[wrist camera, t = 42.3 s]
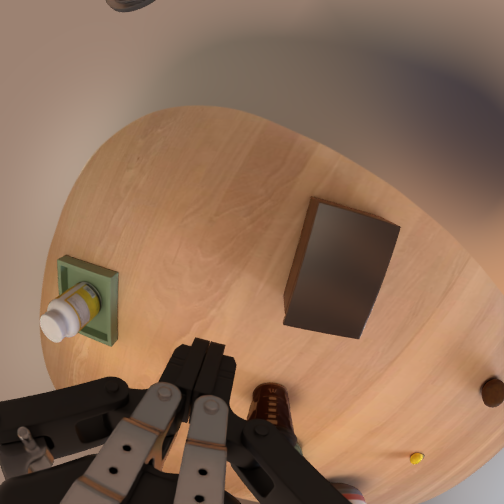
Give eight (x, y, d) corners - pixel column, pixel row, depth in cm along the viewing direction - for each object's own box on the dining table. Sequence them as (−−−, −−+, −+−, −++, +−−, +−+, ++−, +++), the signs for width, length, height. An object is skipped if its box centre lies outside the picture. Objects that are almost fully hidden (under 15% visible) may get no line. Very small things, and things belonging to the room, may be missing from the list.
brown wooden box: (349, 309, 41) (359, 329, 36) (283, 294, 41) (284, 314, 36) (381, 217, 37) (398, 225, 31) (311, 196, 37) (317, 201, 32)
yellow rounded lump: (411, 452, 52) (419, 458, 49) (422, 448, 54) (430, 454, 51) (405, 461, 52) (413, 467, 49) (416, 457, 54) (424, 463, 51)
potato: (490, 397, 46) (501, 413, 40) (471, 395, 46) (482, 413, 39) (505, 377, 44) (518, 392, 38) (488, 373, 44) (501, 390, 37)
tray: (65, 255, 42) (57, 259, 40) (118, 272, 42) (110, 278, 40) (69, 319, 46) (62, 325, 44) (117, 339, 46) (111, 346, 44)
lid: (357, 336, 36) (359, 339, 35) (282, 321, 36) (283, 324, 35) (398, 225, 31) (401, 226, 31) (317, 201, 31) (319, 201, 31)
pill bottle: (73, 302, 44) (35, 332, 33) (78, 273, 43) (35, 301, 31) (100, 320, 45) (64, 355, 34) (106, 292, 43) (67, 325, 32)
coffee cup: (255, 412, 49) (250, 466, 36) (238, 384, 47) (229, 440, 34) (299, 403, 47) (302, 458, 35) (286, 373, 46) (288, 431, 33)
